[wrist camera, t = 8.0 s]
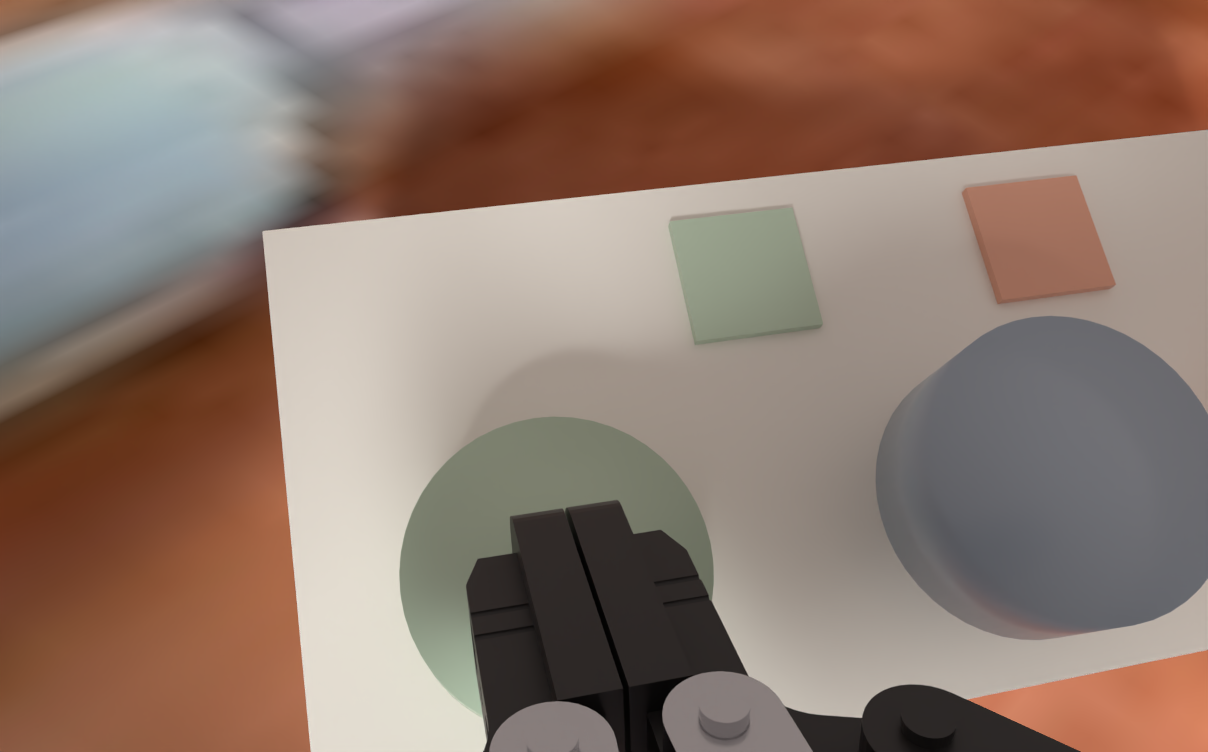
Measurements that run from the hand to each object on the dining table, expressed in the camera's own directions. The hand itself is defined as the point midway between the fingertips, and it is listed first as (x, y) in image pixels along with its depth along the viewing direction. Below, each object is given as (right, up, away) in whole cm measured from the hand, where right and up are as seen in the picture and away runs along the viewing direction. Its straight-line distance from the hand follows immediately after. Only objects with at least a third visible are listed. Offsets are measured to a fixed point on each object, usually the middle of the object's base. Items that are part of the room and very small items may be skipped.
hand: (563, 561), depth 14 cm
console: (+6, -1, +12) cm, 13 cm away
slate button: (+7, +1, +3) cm, 8 cm away
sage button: (0, -1, +3) cm, 3 cm away
